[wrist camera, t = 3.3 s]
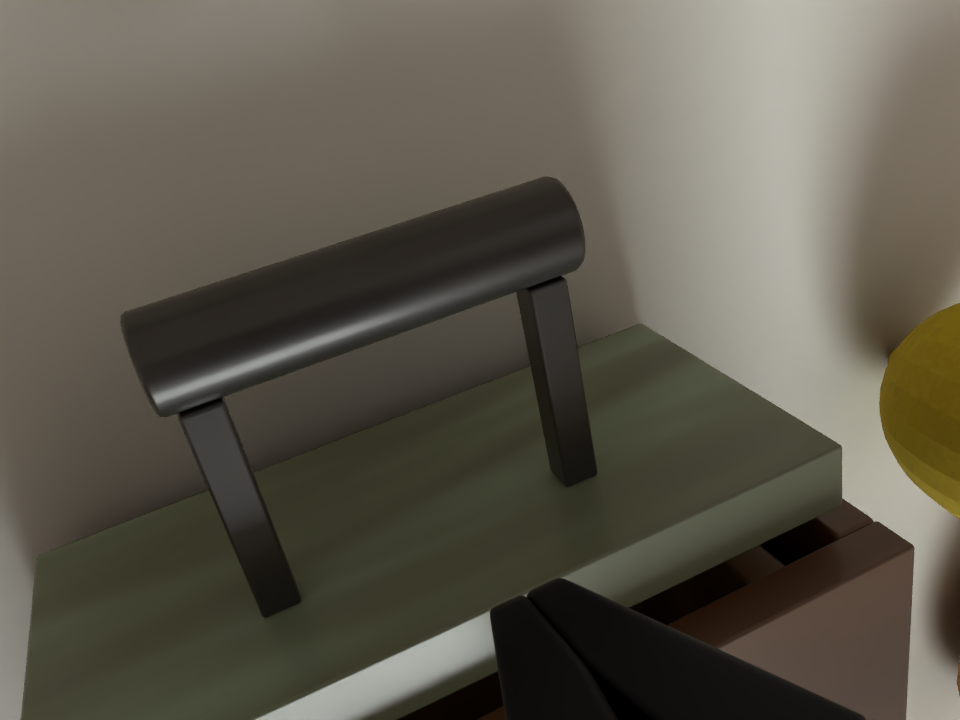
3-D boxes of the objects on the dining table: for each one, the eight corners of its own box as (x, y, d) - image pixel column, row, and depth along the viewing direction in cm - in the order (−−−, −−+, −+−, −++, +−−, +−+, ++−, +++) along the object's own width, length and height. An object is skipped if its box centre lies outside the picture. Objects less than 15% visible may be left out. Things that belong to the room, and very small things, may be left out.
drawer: (-107, 304, 13) (-230, 501, 8) (613, 88, 16) (844, 133, 11) (294, 1013, 22) (352, 1305, 17) (698, 787, 25) (843, 979, 21)
